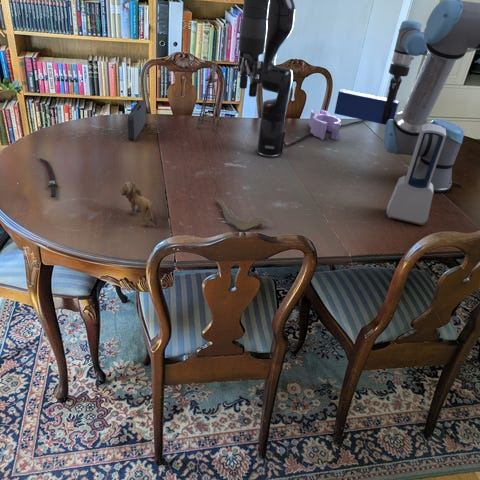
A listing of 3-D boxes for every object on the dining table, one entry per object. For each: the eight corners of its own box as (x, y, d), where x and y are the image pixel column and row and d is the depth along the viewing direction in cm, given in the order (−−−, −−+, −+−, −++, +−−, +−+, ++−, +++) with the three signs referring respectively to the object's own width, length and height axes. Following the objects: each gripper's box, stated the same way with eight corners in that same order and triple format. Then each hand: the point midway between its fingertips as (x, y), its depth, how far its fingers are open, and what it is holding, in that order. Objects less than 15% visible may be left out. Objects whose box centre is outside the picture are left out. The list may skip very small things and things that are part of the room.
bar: (334, 113, 201) (338, 91, 196) (336, 110, 205) (341, 88, 200) (391, 126, 194) (398, 103, 189) (393, 122, 198) (399, 100, 192)
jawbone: (250, 238, 132) (250, 232, 131) (198, 212, 143) (198, 206, 141) (269, 225, 138) (269, 219, 137) (218, 201, 148) (218, 195, 147)
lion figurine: (118, 210, 138) (116, 182, 133) (132, 204, 141) (131, 177, 137) (151, 229, 130) (150, 201, 126) (165, 223, 134) (165, 195, 129)
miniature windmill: (214, 131, 201) (219, 58, 184) (195, 128, 202) (199, 55, 185) (219, 124, 208) (224, 54, 192) (201, 122, 209) (205, 51, 193)
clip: (302, 123, 220) (305, 109, 217) (327, 124, 223) (330, 110, 219) (316, 139, 204) (319, 124, 200) (342, 140, 207) (346, 124, 203)
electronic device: (425, 217, 152) (456, 128, 136) (425, 227, 146) (458, 136, 130) (386, 208, 155) (413, 120, 139) (385, 218, 149) (412, 127, 133)
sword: (61, 197, 141) (61, 193, 140) (50, 198, 139) (50, 194, 139) (49, 160, 164) (48, 156, 163) (39, 160, 163) (39, 157, 162)
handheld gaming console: (139, 121, 202) (139, 98, 197) (146, 122, 202) (145, 99, 197) (127, 140, 183) (126, 115, 178) (134, 141, 183) (133, 116, 178)
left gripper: (274, 40, 128) (267, 99, 137) (256, 30, 139) (251, 85, 148) (249, 39, 125) (243, 99, 134) (233, 29, 137) (228, 85, 145)
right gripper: (407, 70, 175) (391, 129, 188) (412, 61, 190) (397, 117, 202) (387, 66, 178) (372, 125, 190) (394, 58, 192) (379, 114, 205)
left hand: (247, 92), depth 141 cm, fingers open, 8 cm apart
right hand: (385, 121), depth 196 cm, fingers closed on bar, 5 cm apart
